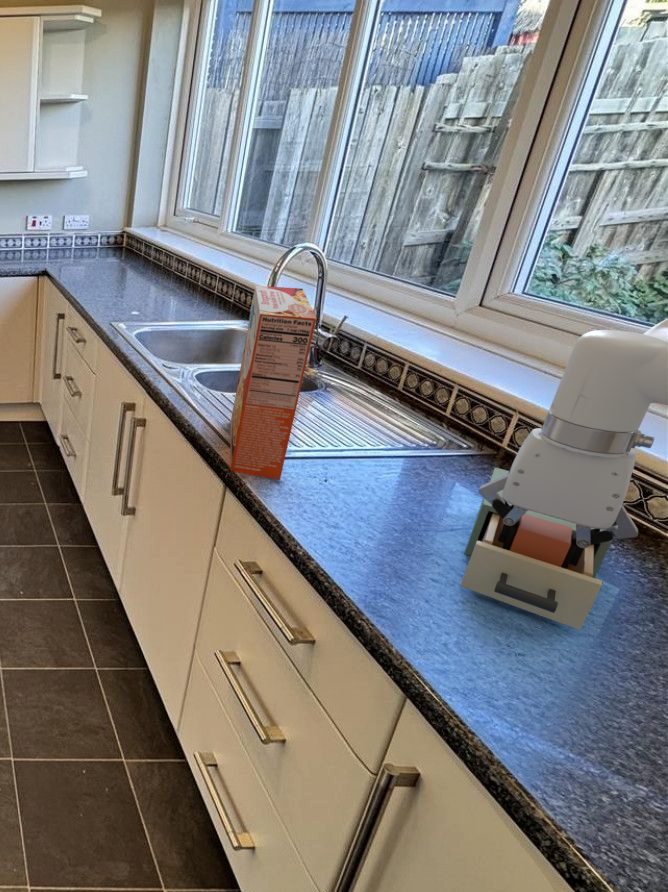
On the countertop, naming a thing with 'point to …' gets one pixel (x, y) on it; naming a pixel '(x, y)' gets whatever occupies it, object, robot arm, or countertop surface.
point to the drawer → (532, 580)
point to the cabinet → (487, 510)
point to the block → (542, 540)
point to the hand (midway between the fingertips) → (533, 555)
